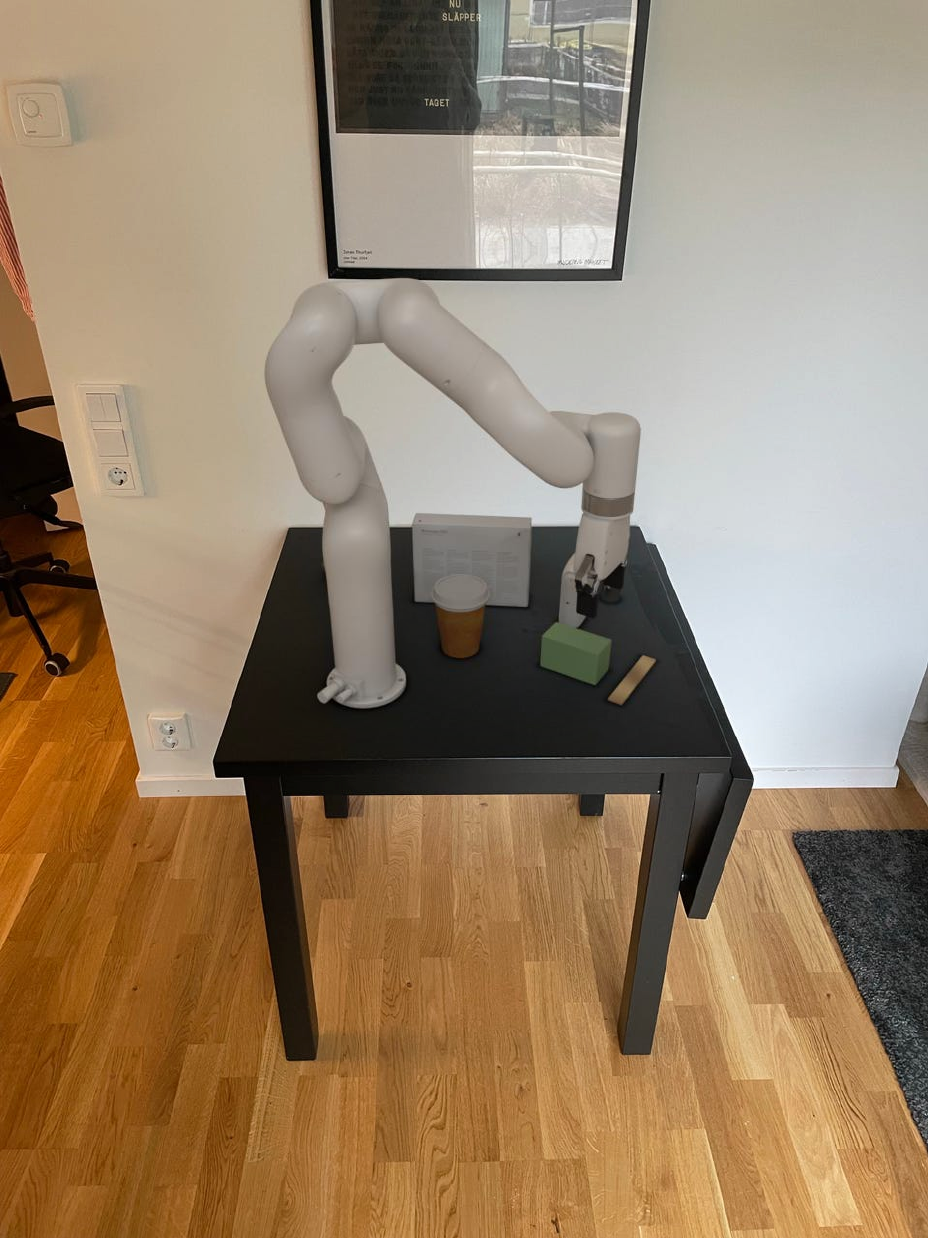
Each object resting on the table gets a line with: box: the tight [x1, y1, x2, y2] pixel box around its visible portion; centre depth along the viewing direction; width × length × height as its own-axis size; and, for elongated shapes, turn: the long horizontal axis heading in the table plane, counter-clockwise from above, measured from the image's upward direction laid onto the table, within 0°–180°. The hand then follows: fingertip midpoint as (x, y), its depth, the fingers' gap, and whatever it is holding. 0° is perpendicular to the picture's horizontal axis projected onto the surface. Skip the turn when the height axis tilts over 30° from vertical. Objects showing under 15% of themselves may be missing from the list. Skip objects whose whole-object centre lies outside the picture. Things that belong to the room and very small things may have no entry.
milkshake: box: [600, 558, 628, 604], centre depth 164 cm, size 5×5×10 cm
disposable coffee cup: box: [431, 574, 490, 659], centre depth 150 cm, size 10×10×12 cm
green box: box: [539, 621, 612, 686], centre depth 147 cm, size 5×10×6 cm, turn 58°
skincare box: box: [411, 512, 533, 608], centre depth 163 cm, size 21×5×16 cm, turn 84°
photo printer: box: [558, 552, 597, 629], centre depth 159 cm, size 10×4×12 cm, turn 156°
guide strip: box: [607, 655, 657, 706], centre depth 146 cm, size 14×2×1 cm, turn 148°
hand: (599, 600), depth 140 cm, fingers open, 9 cm apart
